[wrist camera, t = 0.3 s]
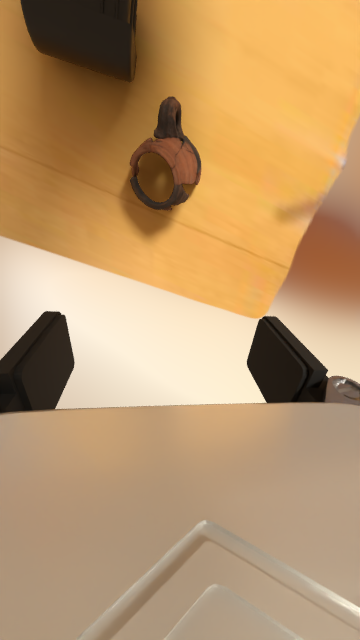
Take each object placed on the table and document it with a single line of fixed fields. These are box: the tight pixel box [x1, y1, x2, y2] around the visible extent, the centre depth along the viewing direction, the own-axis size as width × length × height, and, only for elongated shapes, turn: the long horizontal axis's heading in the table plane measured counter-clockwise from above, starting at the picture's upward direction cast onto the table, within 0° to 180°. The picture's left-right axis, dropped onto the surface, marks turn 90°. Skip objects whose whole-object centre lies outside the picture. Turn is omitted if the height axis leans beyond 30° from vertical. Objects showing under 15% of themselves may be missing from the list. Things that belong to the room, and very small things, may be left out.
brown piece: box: [130, 97, 201, 210], centre depth 30 cm, size 12×9×8 cm
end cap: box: [21, 0, 137, 82], centre depth 23 cm, size 10×7×7 cm
